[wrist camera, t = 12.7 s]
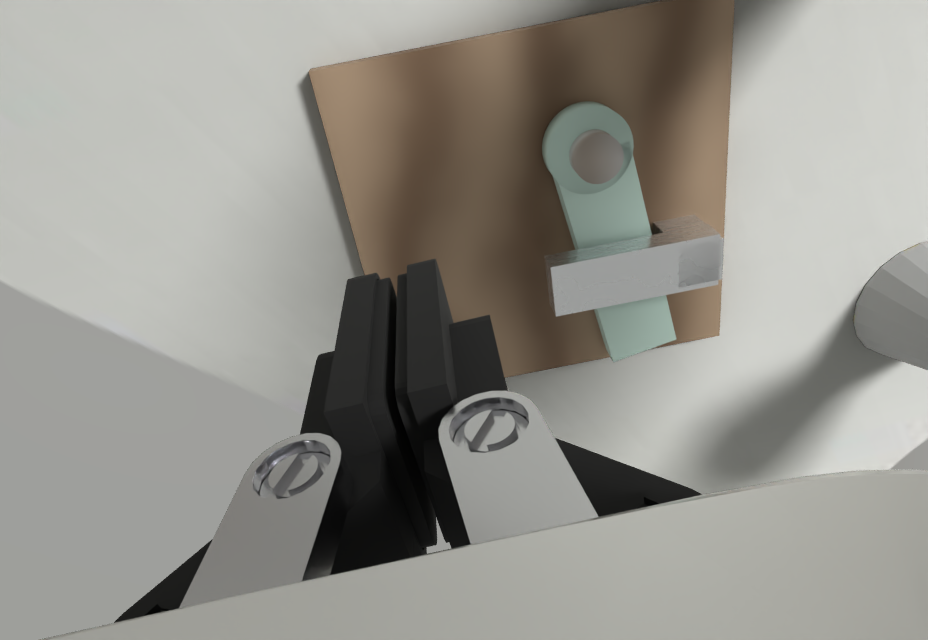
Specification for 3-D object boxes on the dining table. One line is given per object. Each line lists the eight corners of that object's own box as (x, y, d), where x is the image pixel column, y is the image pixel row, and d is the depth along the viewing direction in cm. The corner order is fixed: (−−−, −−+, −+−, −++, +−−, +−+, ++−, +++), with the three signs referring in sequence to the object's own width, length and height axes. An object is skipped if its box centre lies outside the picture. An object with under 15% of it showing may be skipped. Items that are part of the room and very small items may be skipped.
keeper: (694, 209, 36) (724, 233, 33) (693, 256, 37) (721, 284, 34) (536, 240, 36) (550, 267, 33) (541, 286, 37) (555, 316, 34)
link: (531, 120, 32) (537, 127, 31) (613, 87, 32) (622, 92, 30) (603, 350, 40) (610, 363, 38) (670, 325, 39) (679, 338, 38)
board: (725, -12, 31) (770, -10, 27) (712, 327, 41) (744, 363, 37) (310, 68, 31) (299, 82, 27) (398, 389, 41) (399, 431, 37)
